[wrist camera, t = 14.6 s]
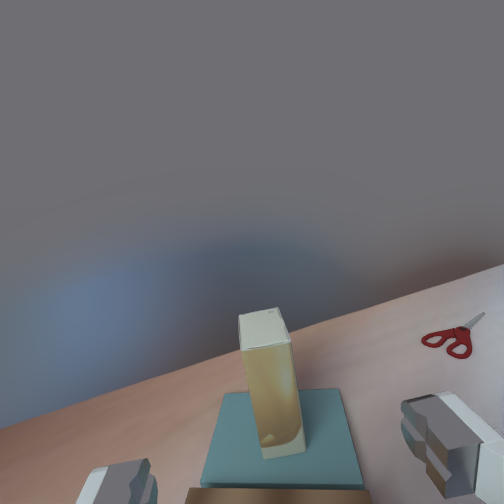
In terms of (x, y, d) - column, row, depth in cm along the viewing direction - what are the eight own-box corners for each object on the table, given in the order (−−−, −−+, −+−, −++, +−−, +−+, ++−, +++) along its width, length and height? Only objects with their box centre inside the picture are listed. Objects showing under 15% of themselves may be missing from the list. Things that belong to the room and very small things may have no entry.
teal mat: (202, 488, 23) (200, 482, 23) (226, 398, 33) (224, 393, 32) (364, 491, 21) (363, 484, 21) (338, 394, 30) (338, 388, 30)
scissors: (418, 345, 37) (418, 339, 36) (463, 310, 43) (463, 304, 43) (463, 364, 32) (464, 357, 32) (507, 321, 38) (507, 315, 38)
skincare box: (256, 407, 30) (237, 312, 27) (293, 400, 30) (278, 304, 27) (262, 465, 23) (238, 349, 20) (309, 455, 23) (291, 339, 20)
